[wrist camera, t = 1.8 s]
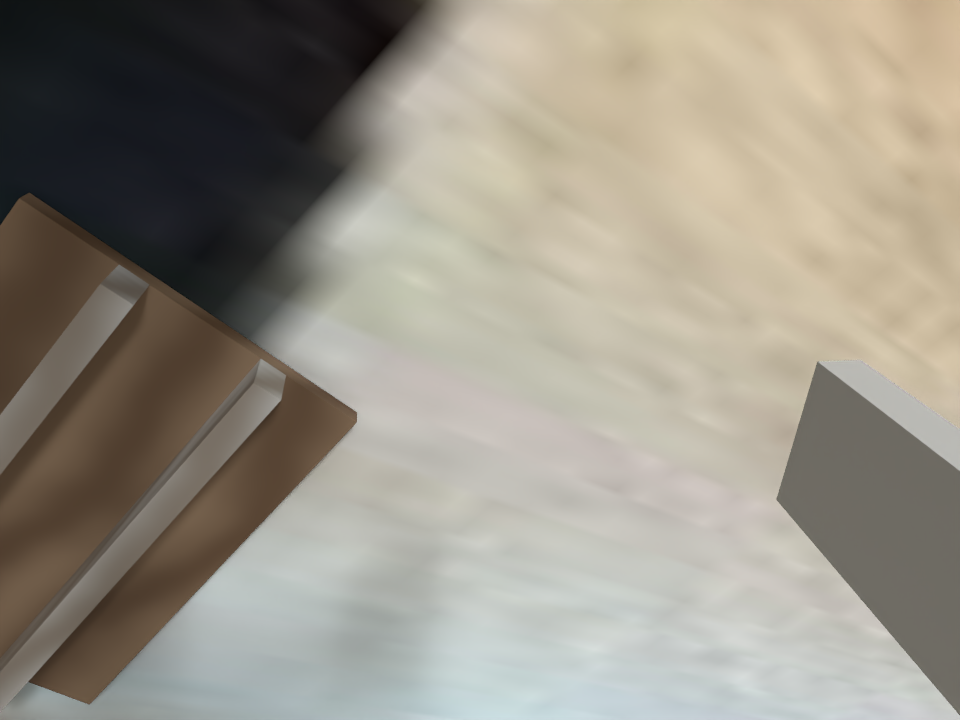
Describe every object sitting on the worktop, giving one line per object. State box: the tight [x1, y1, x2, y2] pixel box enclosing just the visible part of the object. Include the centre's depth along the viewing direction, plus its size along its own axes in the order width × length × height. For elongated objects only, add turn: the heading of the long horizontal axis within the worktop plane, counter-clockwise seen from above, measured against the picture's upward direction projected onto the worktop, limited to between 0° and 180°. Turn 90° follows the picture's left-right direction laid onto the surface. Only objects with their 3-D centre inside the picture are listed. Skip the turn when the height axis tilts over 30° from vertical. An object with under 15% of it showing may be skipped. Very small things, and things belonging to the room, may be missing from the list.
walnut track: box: [0, 193, 357, 712], centre depth 35 cm, size 18×26×4 cm
